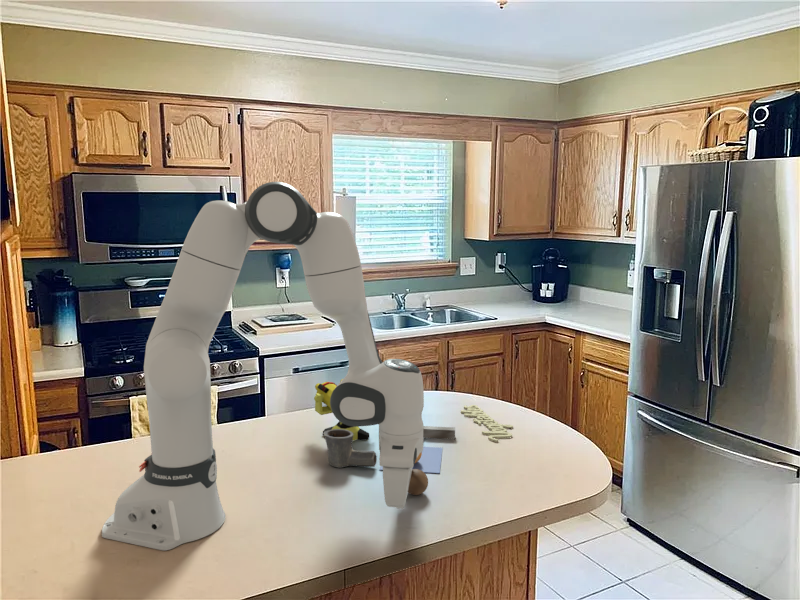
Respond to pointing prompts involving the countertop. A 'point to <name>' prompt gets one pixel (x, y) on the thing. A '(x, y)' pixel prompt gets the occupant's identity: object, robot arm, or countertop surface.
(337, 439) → the pipe
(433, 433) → the rail
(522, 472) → the countertop surface
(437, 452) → the blue mark
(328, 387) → the toy
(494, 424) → the decorative sign
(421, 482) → the walnut ball
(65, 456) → the countertop surface
